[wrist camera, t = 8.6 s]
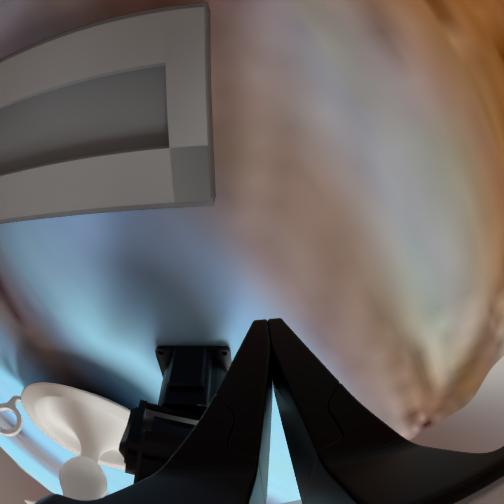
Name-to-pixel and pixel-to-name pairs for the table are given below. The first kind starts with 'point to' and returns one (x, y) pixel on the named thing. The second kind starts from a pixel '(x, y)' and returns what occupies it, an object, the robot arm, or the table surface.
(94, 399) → the candlestick
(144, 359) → the table surface
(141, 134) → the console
